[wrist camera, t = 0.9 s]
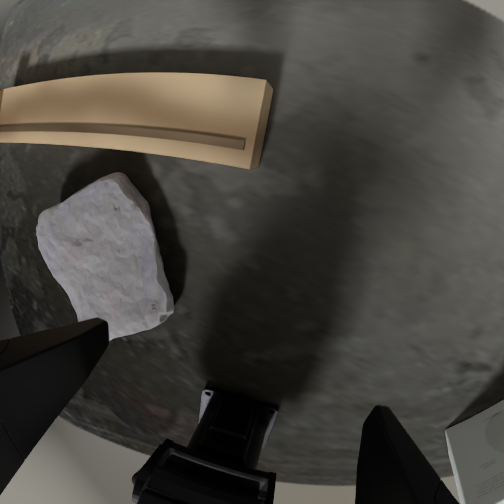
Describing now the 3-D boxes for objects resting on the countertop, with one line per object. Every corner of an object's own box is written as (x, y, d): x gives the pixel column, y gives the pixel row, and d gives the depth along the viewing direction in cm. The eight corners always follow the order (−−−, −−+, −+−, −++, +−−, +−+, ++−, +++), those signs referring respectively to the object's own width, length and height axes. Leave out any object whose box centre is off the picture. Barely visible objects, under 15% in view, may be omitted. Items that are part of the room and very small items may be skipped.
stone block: (141, 157, 22) (51, 214, 23) (114, 155, 18) (17, 224, 19) (206, 294, 25) (110, 331, 26) (195, 321, 20) (88, 359, 21)
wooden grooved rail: (258, 167, 19) (243, 170, 15) (6, 140, 22) (-24, 143, 19) (273, 89, 17) (261, 72, 13) (12, 92, 21) (-18, 91, 17)
